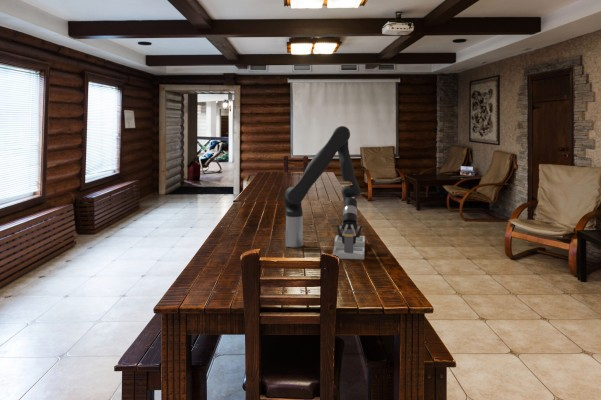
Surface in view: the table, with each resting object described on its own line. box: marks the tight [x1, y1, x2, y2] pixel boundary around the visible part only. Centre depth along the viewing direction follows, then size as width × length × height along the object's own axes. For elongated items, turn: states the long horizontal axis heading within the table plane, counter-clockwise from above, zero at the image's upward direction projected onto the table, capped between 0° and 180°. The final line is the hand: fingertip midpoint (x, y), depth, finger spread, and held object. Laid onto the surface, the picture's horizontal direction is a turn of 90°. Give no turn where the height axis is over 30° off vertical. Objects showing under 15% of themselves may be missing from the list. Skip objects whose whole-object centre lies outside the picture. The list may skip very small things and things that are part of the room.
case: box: [334, 235, 366, 249], centre depth 270 cm, size 16×16×5 cm
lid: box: [332, 246, 365, 260], centre depth 256 cm, size 16×14×2 cm
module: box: [344, 229, 354, 253], centre depth 255 cm, size 4×5×11 cm
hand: (348, 243), depth 253 cm, fingers closed on module, 4 cm apart
